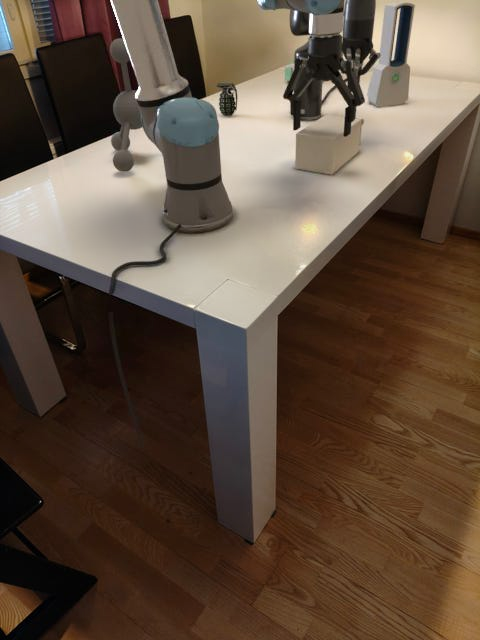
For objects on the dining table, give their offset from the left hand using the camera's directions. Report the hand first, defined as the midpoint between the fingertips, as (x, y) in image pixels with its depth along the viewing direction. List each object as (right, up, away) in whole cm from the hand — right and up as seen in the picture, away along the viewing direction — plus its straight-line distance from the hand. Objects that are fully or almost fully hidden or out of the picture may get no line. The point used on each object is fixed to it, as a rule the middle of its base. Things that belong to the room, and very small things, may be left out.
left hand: (321, 132), depth 122 cm
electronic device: (+32, +30, +50) cm, 66 cm away
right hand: (+10, +15, +10) cm, 21 cm away
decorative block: (+11, +57, +87) cm, 104 cm away
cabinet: (+3, -4, +9) cm, 11 cm away
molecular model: (-47, -1, +18) cm, 50 cm away
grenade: (-24, +24, +48) cm, 59 cm away
